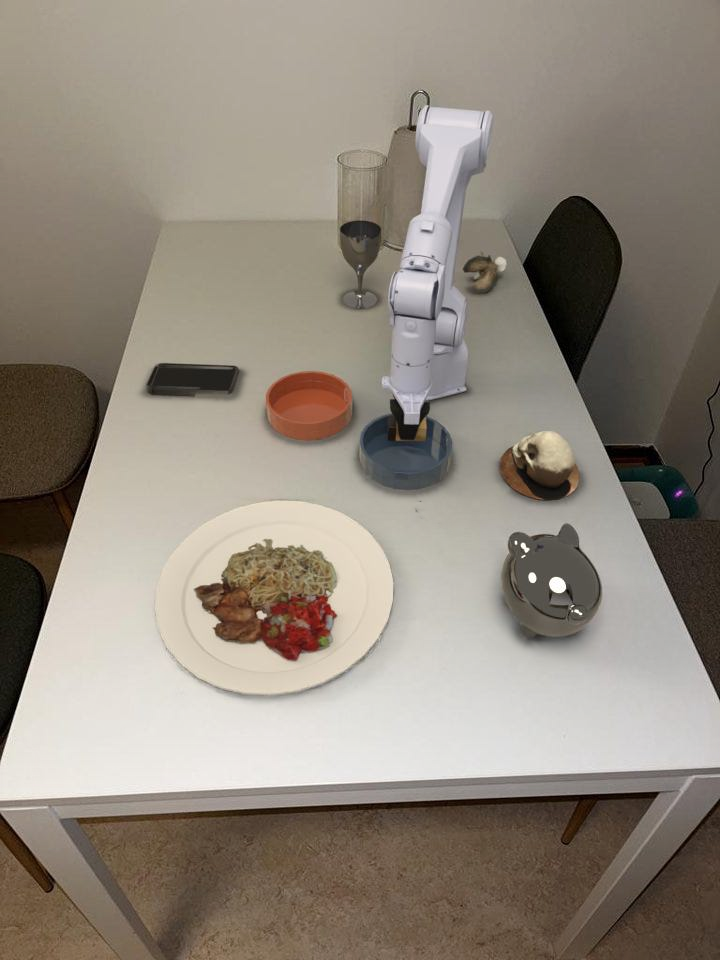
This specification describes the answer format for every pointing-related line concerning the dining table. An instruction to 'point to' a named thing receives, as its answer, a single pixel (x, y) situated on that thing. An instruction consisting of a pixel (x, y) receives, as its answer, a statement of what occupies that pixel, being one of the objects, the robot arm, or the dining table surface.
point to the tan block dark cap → (394, 434)
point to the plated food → (274, 597)
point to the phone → (192, 379)
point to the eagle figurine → (484, 271)
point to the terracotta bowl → (309, 405)
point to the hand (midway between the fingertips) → (406, 431)
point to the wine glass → (360, 257)
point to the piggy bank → (550, 583)
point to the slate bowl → (405, 456)
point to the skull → (541, 466)
